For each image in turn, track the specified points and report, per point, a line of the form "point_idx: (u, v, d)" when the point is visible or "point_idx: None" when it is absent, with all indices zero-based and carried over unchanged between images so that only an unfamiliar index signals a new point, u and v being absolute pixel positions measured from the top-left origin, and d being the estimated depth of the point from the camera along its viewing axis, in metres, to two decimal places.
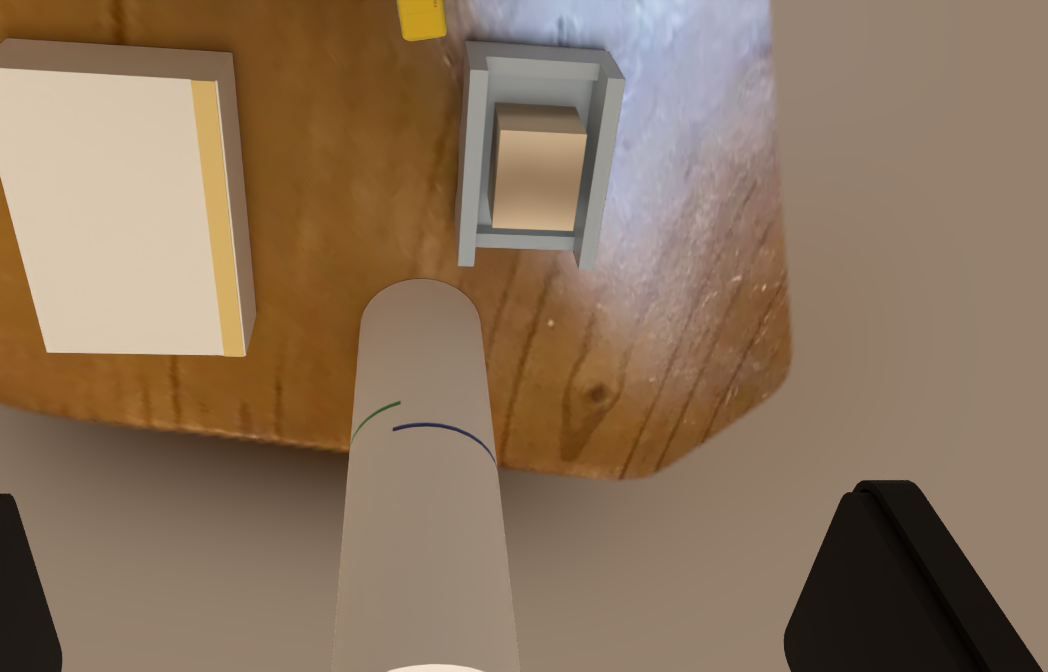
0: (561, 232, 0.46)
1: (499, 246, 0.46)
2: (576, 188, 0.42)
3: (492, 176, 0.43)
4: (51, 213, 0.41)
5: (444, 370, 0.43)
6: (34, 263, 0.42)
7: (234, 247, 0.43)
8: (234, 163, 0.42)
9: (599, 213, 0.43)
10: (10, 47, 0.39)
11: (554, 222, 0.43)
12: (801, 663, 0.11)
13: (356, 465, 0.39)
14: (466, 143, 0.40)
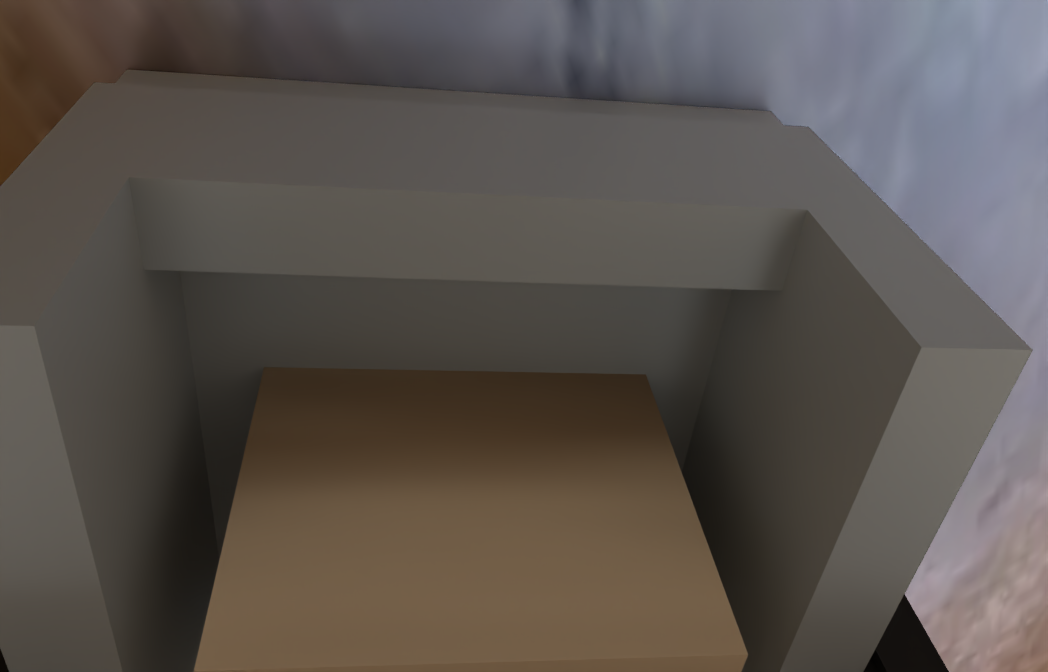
0: None
1: None
2: None
3: None
4: None
5: None
6: None
7: None
8: None
9: None
10: None
11: None
12: None
13: None
14: None
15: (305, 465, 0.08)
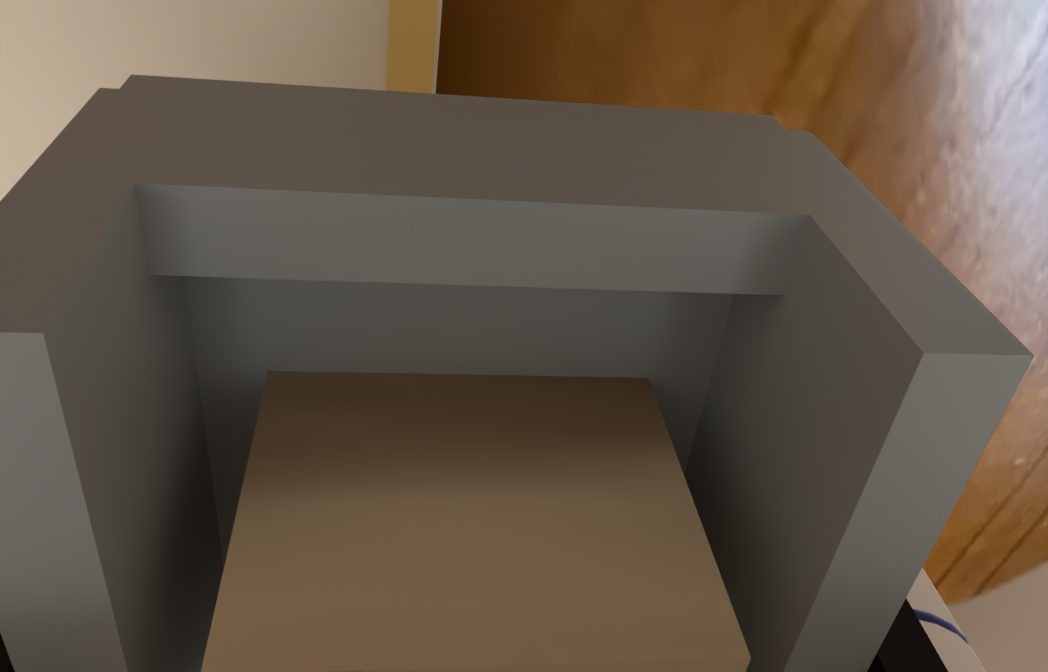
0: None
1: None
2: None
3: None
4: (58, 127, 0.19)
5: None
6: None
7: None
8: None
9: None
10: None
11: None
12: None
13: None
14: None
15: (309, 469, 0.08)
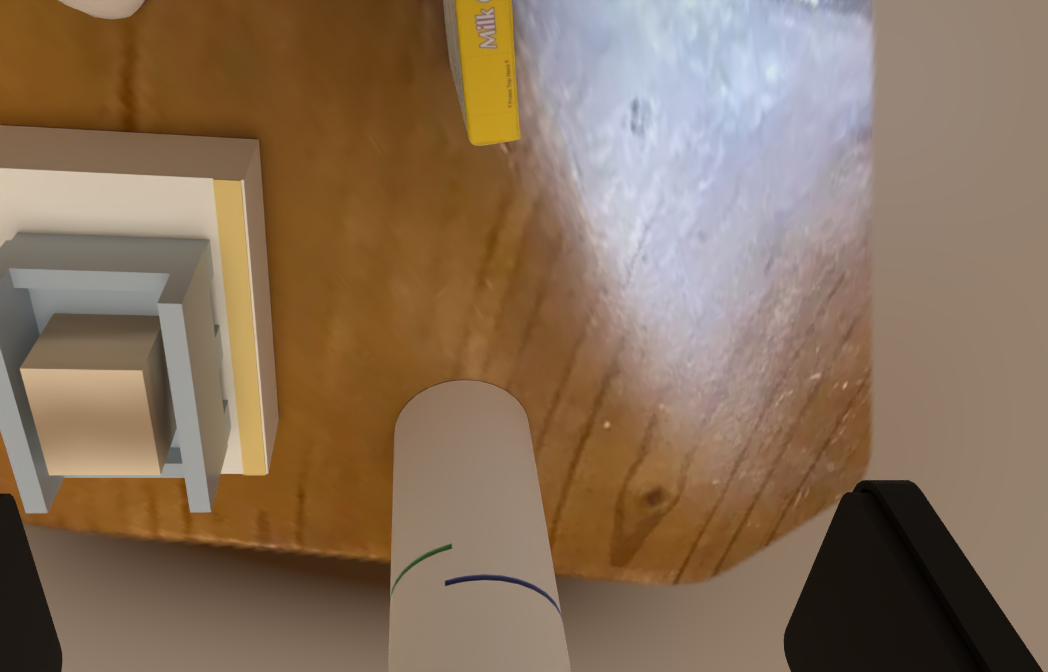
0: None
1: (101, 476, 0.36)
2: (149, 430, 0.32)
3: None
4: None
5: (498, 501, 0.38)
6: None
7: (258, 359, 0.37)
8: (259, 264, 0.37)
9: (197, 451, 0.33)
10: (2, 137, 0.34)
11: (132, 467, 0.33)
12: (801, 663, 0.11)
13: (402, 626, 0.34)
14: None
15: (56, 335, 0.32)
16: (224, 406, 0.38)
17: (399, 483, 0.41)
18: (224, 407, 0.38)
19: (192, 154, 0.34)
